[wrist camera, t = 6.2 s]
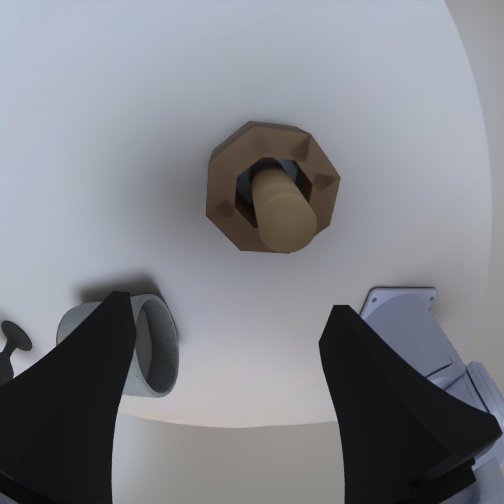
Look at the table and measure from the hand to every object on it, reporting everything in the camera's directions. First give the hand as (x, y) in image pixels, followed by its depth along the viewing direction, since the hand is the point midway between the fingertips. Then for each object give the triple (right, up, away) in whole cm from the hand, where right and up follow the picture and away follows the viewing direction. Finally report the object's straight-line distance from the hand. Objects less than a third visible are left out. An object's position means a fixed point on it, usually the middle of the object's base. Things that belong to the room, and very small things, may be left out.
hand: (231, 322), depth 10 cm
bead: (+2, +7, +7) cm, 10 cm away
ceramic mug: (-9, -4, +13) cm, 17 cm away
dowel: (+2, +7, +7) cm, 10 cm away
